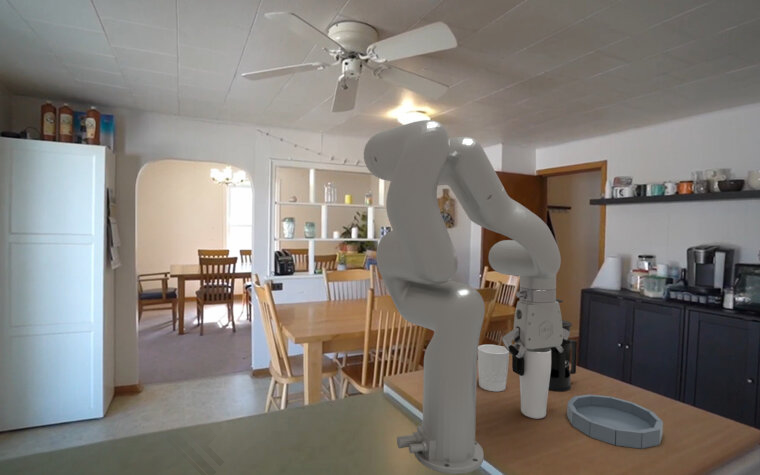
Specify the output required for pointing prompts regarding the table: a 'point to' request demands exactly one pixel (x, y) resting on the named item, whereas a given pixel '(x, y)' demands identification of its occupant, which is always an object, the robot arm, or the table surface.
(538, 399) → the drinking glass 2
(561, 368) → the french press
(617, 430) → the bowl
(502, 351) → the white cup
